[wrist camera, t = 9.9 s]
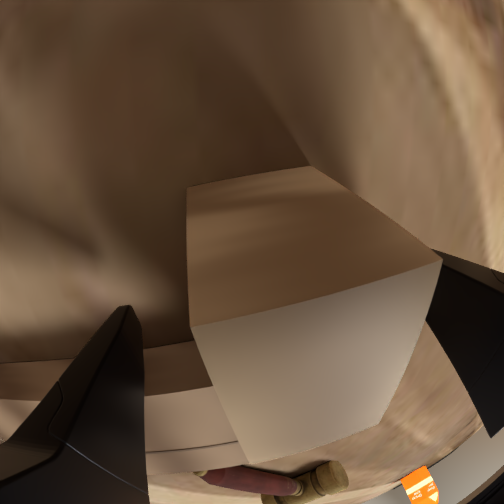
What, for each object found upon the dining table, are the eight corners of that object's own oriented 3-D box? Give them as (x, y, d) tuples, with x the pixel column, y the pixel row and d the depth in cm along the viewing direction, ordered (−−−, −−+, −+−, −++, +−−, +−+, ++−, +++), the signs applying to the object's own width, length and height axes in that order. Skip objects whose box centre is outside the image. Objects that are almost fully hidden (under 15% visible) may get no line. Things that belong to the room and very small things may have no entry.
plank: (44, 441, 15) (41, 466, 13) (-37, 363, 10) (-49, 393, 8) (343, 403, 18) (356, 432, 16) (364, 297, 13) (393, 334, 10)
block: (242, 399, 15) (266, 495, 10) (186, 187, 9) (190, 327, 4) (310, 381, 15) (348, 470, 10) (310, 165, 9) (442, 259, 4)
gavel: (148, 495, 16) (239, 472, 15) (148, 453, 20) (230, 418, 19) (284, 514, 26) (353, 489, 24) (277, 487, 30) (342, 460, 28)
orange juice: (425, 465, 75) (443, 499, 58) (410, 474, 79) (427, 508, 62) (415, 470, 73) (433, 507, 56) (400, 480, 76) (416, 515, 59)
